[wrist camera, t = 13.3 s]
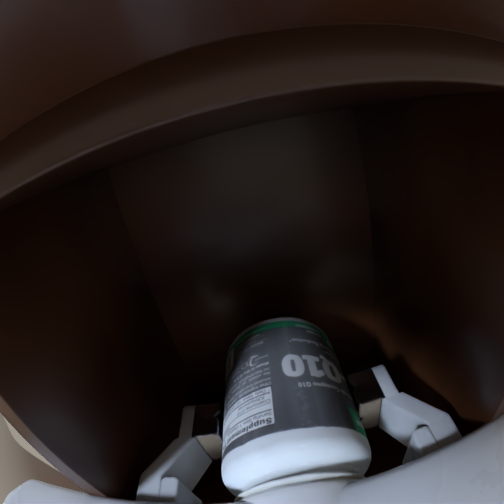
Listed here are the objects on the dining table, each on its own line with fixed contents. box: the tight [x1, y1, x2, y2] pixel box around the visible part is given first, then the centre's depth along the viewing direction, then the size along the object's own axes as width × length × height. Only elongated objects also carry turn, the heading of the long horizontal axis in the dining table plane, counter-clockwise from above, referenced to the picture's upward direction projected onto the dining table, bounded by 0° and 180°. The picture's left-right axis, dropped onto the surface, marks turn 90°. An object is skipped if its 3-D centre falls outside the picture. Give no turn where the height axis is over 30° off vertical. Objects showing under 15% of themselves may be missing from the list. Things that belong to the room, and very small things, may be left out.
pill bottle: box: [221, 317, 371, 504], centre depth 9 cm, size 5×5×8 cm
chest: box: [0, 24, 504, 504], centre depth 10 cm, size 16×13×11 cm
